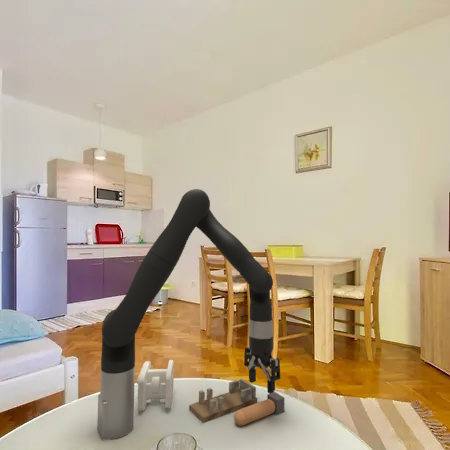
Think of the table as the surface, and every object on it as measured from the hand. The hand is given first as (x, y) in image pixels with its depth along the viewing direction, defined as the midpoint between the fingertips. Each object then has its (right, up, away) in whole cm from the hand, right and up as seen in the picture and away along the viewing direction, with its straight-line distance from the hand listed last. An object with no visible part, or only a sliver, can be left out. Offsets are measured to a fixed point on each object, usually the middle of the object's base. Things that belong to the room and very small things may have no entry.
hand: (261, 387), depth 96 cm
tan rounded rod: (-1, -9, -1) cm, 9 cm away
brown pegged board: (-12, -9, +5) cm, 15 cm away
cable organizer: (-34, -9, +7) cm, 36 cm away
